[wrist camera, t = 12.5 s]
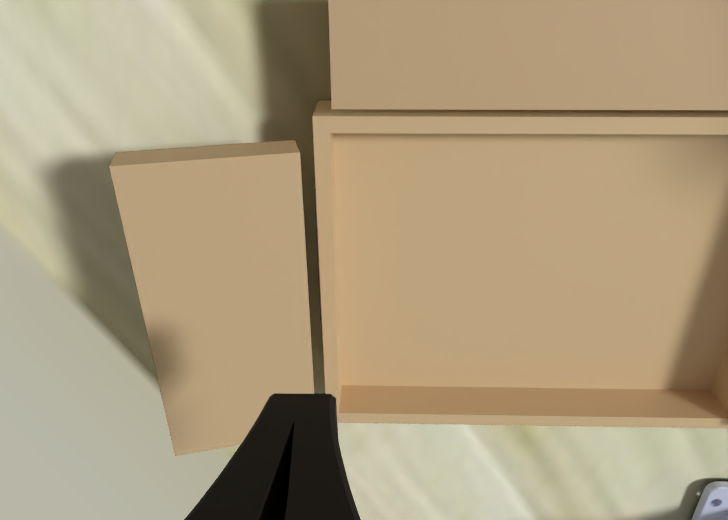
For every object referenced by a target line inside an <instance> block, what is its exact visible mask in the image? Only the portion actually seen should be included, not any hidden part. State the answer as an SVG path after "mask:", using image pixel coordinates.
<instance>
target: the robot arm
mask: <svg viewBox="0 0 728 520" xmlns="http://www.w3.org/2000/svg"><path fill="white" fill-rule="evenodd" d="M185 520H360V517H359V514H358V511H357V508H356V505H355V502H354V499H353V496H352V493H351V490H350V486H349V483H348V480H347V476H346V472H345V468H344V464H343V460H342V456H341V452H340V447H339V442H338V428H337V408H336V398H335V397H334V396H333V395H332V394H282V393H274V394H273V395H271V396H270V397H269V398H268V400H267V402H266V404H265V406H264V408H263V409H262V411H261V413H260V415H259V416H258V418H257V420H256V421H255V423H254V425H253V426H252V428H251V429H250V431H249V433H248V434H247V436H246V437H245V439H244V440H243V442H242V444H241V445H240V446H239V448H238V449H237V451H236V452H235V454H234V455H233V457H232V458H231V459H230V461H229V462H228V464H227V465H226V467H225V468H224V470H223V471H222V472H221V474H220V475H219V477H218V478H217V479H216V480H215V482H214V483H213V484H212V486H211V487H210V488H209V490H208V491H207V492H206V493H205V495H204V496H203V497H202V499H201V500H200V502H198V504H197V505H196V506H195V507H194V509H193V510H192V511H191V512H190V514H189V515H188V516H187V517H186V518H185ZM691 520H728V482H723V481H717V482H712V483H709V484H708V485H706V487H705V488H704V490H703V493H702V495H701V498H700V500H699V503H698V505H697V507H696V510H695V512H694V515H693V517H692V519H691Z"/></svg>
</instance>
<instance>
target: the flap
mask: <svg viewBox="0 0 728 520" xmlns="http://www.w3.org/2000/svg"><path fill="white" fill-rule="evenodd" d="M109 168H110V172H111V177H112V181H113V186H114V190H115V194H116V199H117V203H118V207H119V212H120V216H121V221H122V225H123V229H124V234H125V238H126V243H127V247H128V251H129V256H130V260H131V264H132V269H133V273H134V278H135V282H136V286H137V291H138V295H139V299H140V304H141V308H142V313H143V317H144V321H145V326H146V330H147V335H148V339H149V343H150V348H151V352H152V356H153V361H154V365H155V370H156V374H157V378H158V383H159V387H160V392H161V396H162V400H163V405H164V409H165V413H166V418H167V422H168V427H169V431H170V435H171V440H172V444H173V449H174V453H175V456H178V455H184V454H189V453H195V452H201V451H207V450H213V449H219V448H225V447H230V446H236V445H241V444H242V442H243V440H244V439H245V437H246V436H247V434H248V433H249V431H250V429H251V428H252V426H253V425H254V423H255V421H256V420H257V418H258V416H259V415H260V413H261V411H262V409H263V408H264V406H265V404H266V402H267V400H268V398H269V397H270V396H271V395H273V394H274V393H282V394H314V379H313V362H312V345H311V328H310V311H309V295H308V278H307V261H306V244H305V227H304V210H303V193H302V176H301V159H300V151H299V149H298V146H297V144H296V142H295V140H288V141H273V142H259V143H245V144H230V145H216V146H201V147H187V148H173V149H158V150H144V151H129V152H116V153H115V155H114V157H113V159H112V162H111V164H110V166H109Z"/></svg>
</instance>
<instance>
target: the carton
mask: <svg viewBox="0 0 728 520" xmlns="http://www.w3.org/2000/svg"><path fill="white" fill-rule="evenodd" d="M328 9H329V41H330V74H331V100H319V101H318V103H317V106H316V108H315V111H314V113H313V116H312V121H313V142H314V163H315V185H316V187H315V190H314V191H315V212H316V233H317V253H318V274H319V295H320V316H321V320H322V333H323V355H324V376H325V394H332V395H333V396H334V397H335V398H336V408H337V423H399V424H468V425H536V426H604V427H672V428H728V0H328Z"/></svg>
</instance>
